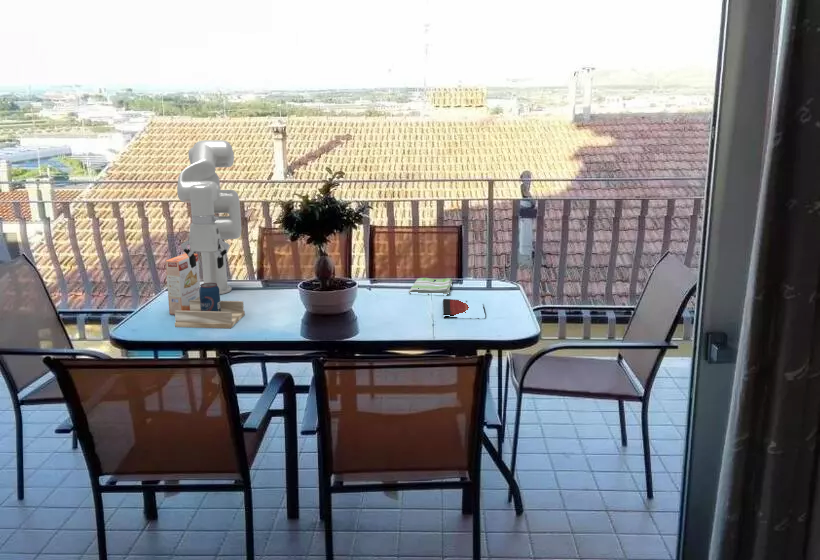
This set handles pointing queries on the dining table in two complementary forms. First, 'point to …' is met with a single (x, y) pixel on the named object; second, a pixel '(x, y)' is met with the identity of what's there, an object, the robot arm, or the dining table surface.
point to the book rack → (210, 315)
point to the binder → (453, 307)
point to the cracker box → (182, 282)
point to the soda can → (209, 297)
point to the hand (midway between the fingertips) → (207, 267)
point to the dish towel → (432, 285)
